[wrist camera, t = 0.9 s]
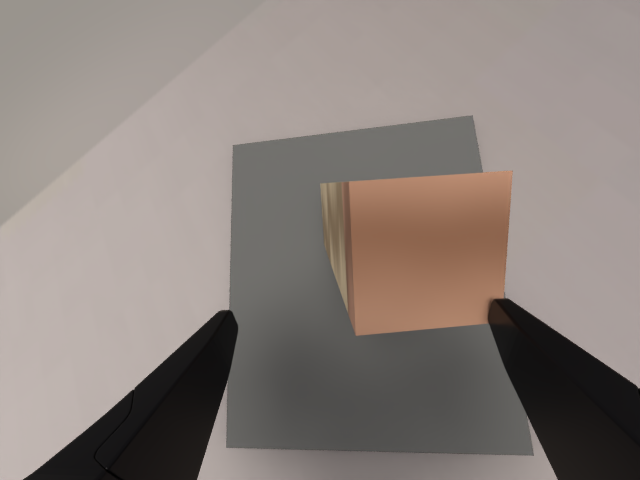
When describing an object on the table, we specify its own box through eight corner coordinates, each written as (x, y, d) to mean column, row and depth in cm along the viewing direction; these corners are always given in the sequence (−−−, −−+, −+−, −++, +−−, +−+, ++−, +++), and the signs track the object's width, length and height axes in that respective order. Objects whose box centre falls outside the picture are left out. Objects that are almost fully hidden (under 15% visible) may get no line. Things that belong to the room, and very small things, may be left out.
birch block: (384, 240, 23) (501, 322, 9) (324, 245, 23) (355, 335, 9) (382, 179, 22) (512, 170, 8) (320, 183, 22) (348, 181, 8)
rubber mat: (528, 450, 19) (533, 455, 19) (229, 443, 22) (226, 447, 22) (470, 119, 25) (472, 115, 24) (235, 148, 28) (233, 145, 27)
